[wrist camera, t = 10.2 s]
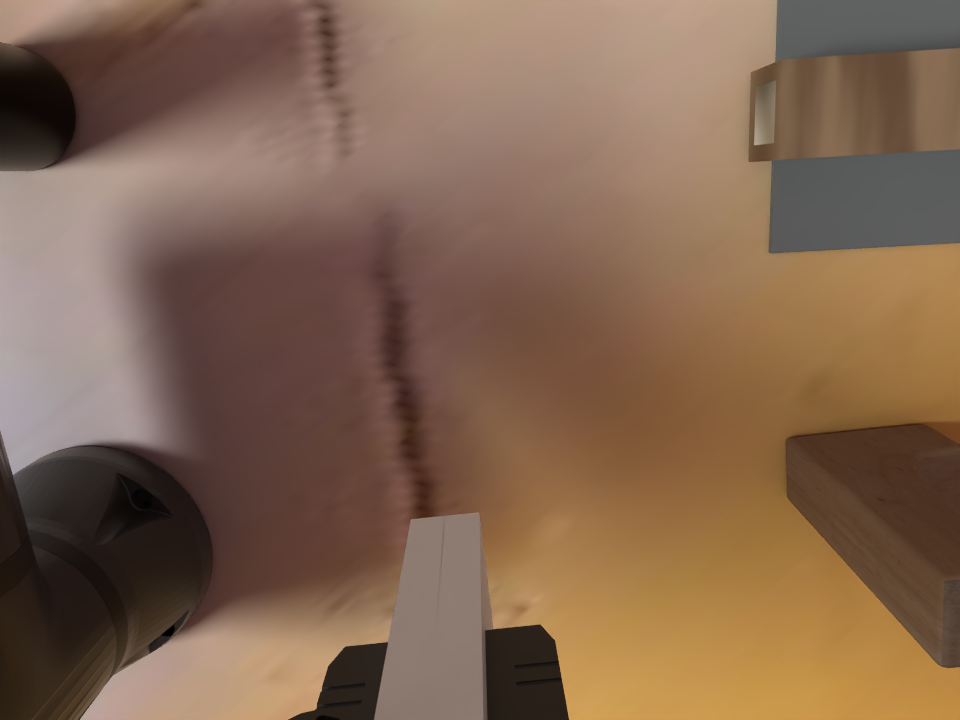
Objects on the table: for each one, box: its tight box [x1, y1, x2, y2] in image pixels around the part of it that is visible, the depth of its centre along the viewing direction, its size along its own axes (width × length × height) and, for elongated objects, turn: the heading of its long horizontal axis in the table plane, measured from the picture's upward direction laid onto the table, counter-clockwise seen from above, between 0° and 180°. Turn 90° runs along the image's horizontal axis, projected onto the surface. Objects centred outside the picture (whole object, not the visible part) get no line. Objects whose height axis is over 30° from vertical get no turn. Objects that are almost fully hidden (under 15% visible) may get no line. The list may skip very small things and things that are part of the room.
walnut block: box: [749, 48, 960, 162], centre depth 41 cm, size 5×5×14 cm
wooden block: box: [786, 424, 960, 668], centre depth 40 cm, size 9×4×18 cm, turn 97°
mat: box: [769, 0, 960, 253], centre depth 44 cm, size 16×16×1 cm
